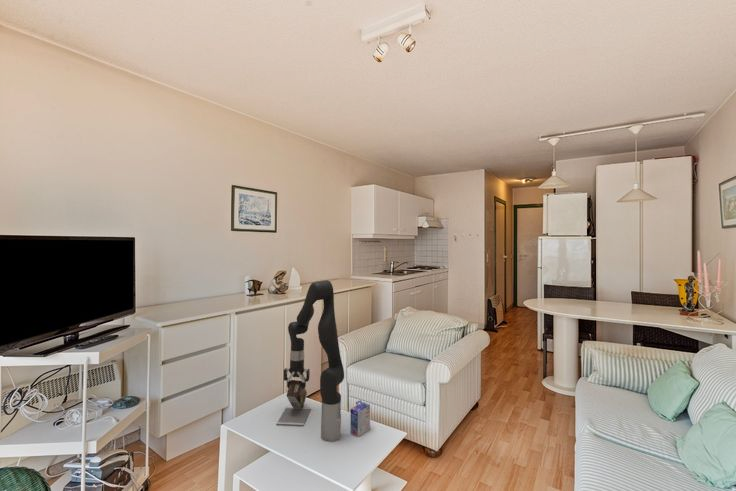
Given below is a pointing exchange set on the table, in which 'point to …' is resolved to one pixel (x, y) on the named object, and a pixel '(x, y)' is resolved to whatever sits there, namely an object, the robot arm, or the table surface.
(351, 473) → the table surface
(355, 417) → the ink cartridge box
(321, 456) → the table surface
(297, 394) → the coffee box
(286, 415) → the mat
